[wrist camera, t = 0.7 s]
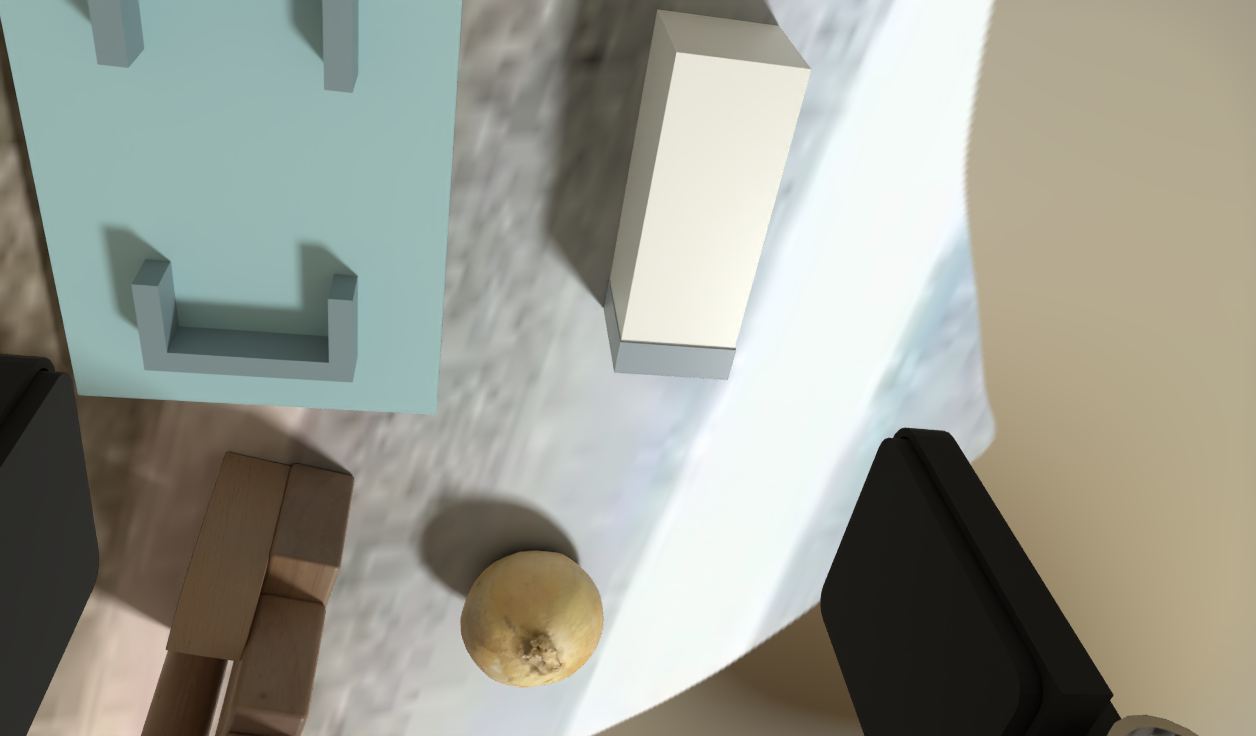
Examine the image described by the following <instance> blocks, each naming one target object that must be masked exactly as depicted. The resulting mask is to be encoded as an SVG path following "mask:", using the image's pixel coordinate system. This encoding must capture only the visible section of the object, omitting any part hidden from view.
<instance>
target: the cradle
mask: <svg viewBox="0 0 1256 736" xmlns="http://www.w3.org/2000/svg"><path fill="white" fill-rule="evenodd" d="M461 13H462V0H0V17H1V22H2V27H3V32H4V37H5V42H6V47H7V51H8V56H9V61H10V66H11V71H12V76H13V81H14V85H15V90H16V95H17V100H18V105H19V110H20V115H21V120H22V124H23V129H24V134H25V139H26V144H27V149H28V154H29V158H30V163H31V168H32V173H33V178H34V183H35V188H36V192H37V197H38V202H39V207H40V212H41V217H42V222H43V227H44V231H45V236H46V241H47V246H48V251H49V256H50V261H51V265H52V270H53V275H54V280H55V285H56V290H57V295H58V299H59V304H60V309H61V314H62V319H63V324H64V329H65V334H66V338H67V343H68V348H69V353H70V358H71V363H72V368H73V372H74V377H75V382H76V387H77V392H78V395H84V396H102V397H121V398H139V399H158V400H176V401H195V402H213V403H231V404H250V405H268V406H287V407H305V408H323V409H342V410H360V411H379V412H397V413H416V414H434V415H436V411H437V397H438V381H439V365H440V349H441V333H442V317H443V301H444V285H445V269H446V253H447V237H448V221H449V205H450V189H451V173H452V157H453V141H454V125H455V109H456V93H457V77H458V61H459V45H460V29H461Z"/></svg>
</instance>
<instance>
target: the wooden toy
mask: <svg viewBox="0 0 1256 736" xmlns="http://www.w3.org/2000/svg"><path fill="white" fill-rule="evenodd" d="M290 468H291V469H290ZM353 486H354V478H353V476H351V475H346V474H342V473H337V472H333V471H328V470H324V469H319V468H315V467H310V466H306V465H301V464H294V465H293V466H292V467H290V466H288V465H283V464H279V463H275V462H270V461H266V460H261V459H257V458H252V457H247V456H243V455H238V454H233V453H228V452H227V453H226V454H225V457H224V460H223V463H222V466H221V469H220V472H219V475H218V478H217V481H216V484H215V487H214V490H213V493H212V497H211V500H210V503H209V506H208V509H207V512H206V515H205V518H204V521H203V524H202V527H201V530H200V533H199V536H198V539H197V542H196V545H195V549H194V552H193V555H192V558H191V561H190V565H189V568H188V571H187V575H186V578H185V581H184V585H183V588H182V591H181V595H180V598H179V602H178V606H177V609H176V613H175V616H174V620H173V623H172V627H171V631H170V634H169V638H168V642H167V646H166V650H168V652H167V655H166V658H165V662H164V665H163V668H162V671H161V674H160V677H159V680H158V684H157V687H156V690H155V693H154V696H153V699H152V702H151V705H150V709H149V712H148V715H147V718H146V721H145V724H144V727H143V731H142V734H141V736H209V734H210V730H211V726H212V722H213V719H214V715H215V711H216V707H217V703H218V699H219V695H220V691H221V687H222V684H223V680H224V676H225V672H226V668H227V664H228V660H232V661H234V662H233V666H232V670H231V674H230V678H229V682H228V686H227V690H226V694H225V698H224V702H223V706H222V710H221V714H220V718H219V723H218V726H217V730H216V734H215V736H301V734H302V731H303V728H304V726H305V723H306V721H307V718H308V714H309V708H310V702H311V696H312V690H313V684H314V678H315V673H316V667H317V661H318V655H319V649H320V643H321V637H322V631H323V626H324V620H325V614H326V609H325V608H326V605H327V603H328V600H329V597H330V594H331V592H332V589H333V586H334V583H335V581H336V578H337V575H338V572H339V570H340V566H341V560H342V554H343V548H344V542H345V536H346V529H347V523H348V517H349V511H350V505H351V499H352V492H353Z"/></svg>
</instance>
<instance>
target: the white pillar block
mask: <svg viewBox="0 0 1256 736" xmlns="http://www.w3.org/2000/svg"><path fill="white" fill-rule="evenodd" d="M810 72H811V68H810V67H809V66H808V64H807V63H806V62H805V60H804V59H803V57H802V56H801V55H800V53H799V52H798V51H797V49H796V48H795V47H794V45H793V44H792V43H791V41H790V40H789V39H788V37H787V36H786V35H785V33H784V32H783V31H782V29H781V28H780V26H777V25H770V24H763V23H755V22H748V21H740V20H733V19H726V18H718V17H711V16H703V15H696V14H689V13H681V12H674V11H666V10H659V9H657V14H656V20H655V25H654V31H653V37H652V42H651V48H650V54H649V59H648V65H647V71H646V76H645V82H644V88H643V93H642V99H641V105H640V110H639V116H638V122H637V128H636V133H635V139H634V145H633V150H632V156H631V162H630V167H629V173H628V179H627V184H626V190H625V196H624V201H623V207H622V213H621V218H620V224H619V230H618V235H617V241H616V247H615V252H614V258H613V264H612V270H611V275H610V280H608V286H607V292H606V298H605V303H604V314H605V320H606V326H607V332H608V338H609V343H610V349H611V355H612V361H613V367H614V373H629V374H644V375H660V376H675V377H691V378H707V379H722V380H728V378H729V374H730V370H731V367H732V363H733V360H734V356H735V352H736V349H735V345H736V342H737V338H738V334H739V331H740V327H741V323H742V320H743V316H744V312H745V309H746V305H747V302H748V298H749V294H750V291H751V287H752V283H753V280H754V276H755V272H756V269H757V265H758V261H759V258H760V254H761V251H762V247H763V243H764V240H765V236H766V232H767V229H768V225H769V221H770V218H771V214H772V210H773V207H774V203H775V200H776V196H777V192H778V189H779V185H780V181H781V178H782V174H783V170H784V167H785V163H786V160H787V156H788V152H789V149H790V145H791V141H792V138H793V134H794V130H795V127H796V123H797V119H798V116H799V112H800V109H801V105H802V101H803V98H804V94H805V90H806V87H807V83H808V79H809V76H810Z"/></svg>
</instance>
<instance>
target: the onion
mask: <svg viewBox="0 0 1256 736" xmlns="http://www.w3.org/2000/svg"><path fill="white" fill-rule="evenodd" d="M603 621H604V616H603V608H602V603H601V598H600V594H599V591H598V589H597V587H596V585H595V584H594V582H593V581H592V579H591V578H590V577H589V576H588V574H587V573H586V572H585V571H584V570H583V569H582V568H581V567H580V566H579V565H578V564H576V563H575V562H574V561H572V560H571V559H570V558H568V557H566V556H565V555H564V554H561V553H556V552H548V551H537V550H534V551H525V552H517V553H515V554H512V555H508V556H506V557H504V558H502V559H500V560H497V561H496V562H494V563H492V564H491V565H490V566H488V567H487V568H486V569H485V570H484V571H483V572H482V573H481V574H480V576H479V577H478V578H477V579H476V580H475V581H474V584H473V585H472V587H471V589H470V592H469V594H468V596H467V598H466V601H465V604H464V607H463V611H462V616H461V635H462V639H463V641H464V644H465V647H466V649H467V651H468V653H469V654H470V656H471V658H472V659H473V661H474V662H475V663H476V665H477V666H478V667H479V668H480V669H481V670H482V671H483V672H484V673H486V675H487V676H488V677H490V678H491V679H493V680H495V681H497V682H500V683H503V684H506V685H510V686H515V687H533V686H539V685H545V684H550V683H555V682H558V681H561V680H564V679H565V678H568V677H569V676H570V675H572V674H573V673H575V672H576V671H577V670H578V669H579V668H581V667H582V666H583V665H584V664H585V663H586V661H587V660H588V659H589V658H590V656H591V655H592V654H593V652H594V650H595V649H596V647H597V645H598V642H599V640H600V637H601V634H602V629H603Z"/></svg>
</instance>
